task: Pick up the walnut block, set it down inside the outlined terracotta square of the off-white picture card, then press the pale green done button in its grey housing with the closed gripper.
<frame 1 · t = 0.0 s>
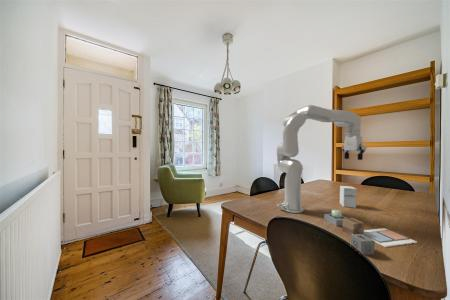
hand: (353, 159, 116), 31 cm above the table, fingers open, 9 cm apart
done button: (336, 214, 89), point 4 cm above the table, slide at 0.0 cm
walnut block: (352, 232, 78), on the table, touching picture card
dice cube: (362, 251, 65), on the table
picture card: (384, 237, 74), on the table
button housing: (336, 222, 89), on the table
supplement box: (347, 205, 115), on the table
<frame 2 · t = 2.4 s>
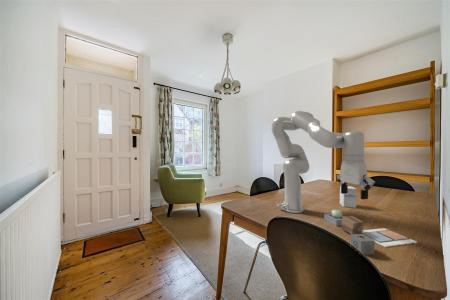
hand: (353, 196, 78), 17 cm above the table, fingers open, 9 cm apart
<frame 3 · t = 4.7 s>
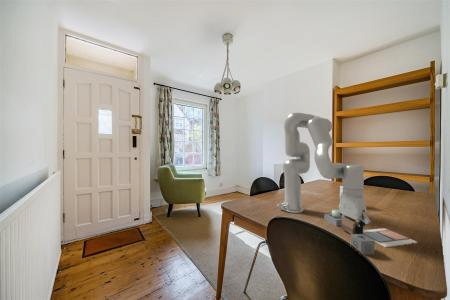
hand: (352, 230, 78), 1 cm above the table, fingers closed on walnut block, 5 cm apart
walnut block: (351, 230, 78), point 1 cm above the table, tilted 6°, touching gripper, picture card
everything else where it was.
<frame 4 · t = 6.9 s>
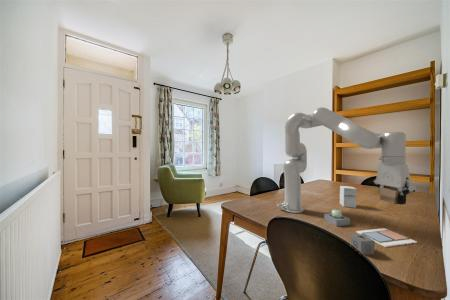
hand: (392, 201, 75), 15 cm above the table, fingers closed on walnut block, 5 cm apart
walnut block: (391, 201, 75), point 15 cm above the table, touching gripper
everything else where it was.
when the fingers open (3 cm above the table, at t = 9.6 s): walnut block drops 2 cm, resting on picture card.
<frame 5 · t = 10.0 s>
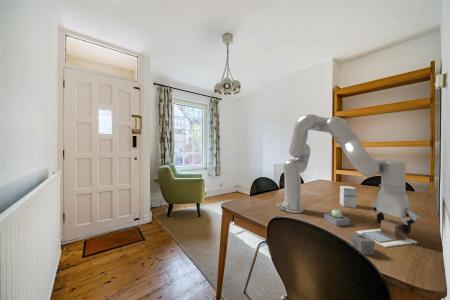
hand: (392, 227, 75), 4 cm above the table, fingers open, 9 cm apart
walnut block: (392, 235, 74), point 1 cm above the table, touching picture card
everything else where it was.
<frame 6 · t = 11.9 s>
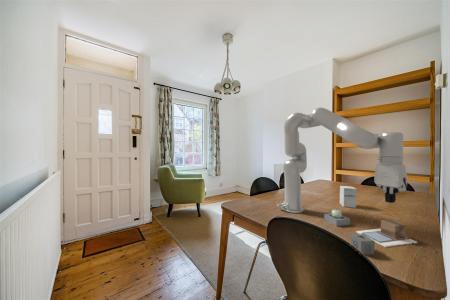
hand: (390, 202, 75), 15 cm above the table, fingers closed
nothing on the table moved.
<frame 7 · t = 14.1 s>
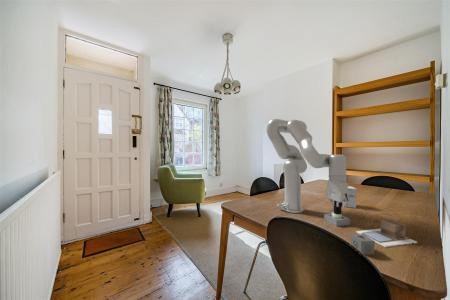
hand: (337, 213, 89), 5 cm above the table, fingers closed
done button: (336, 217, 89), point 3 cm above the table, slide at 1.4 cm
everything else where it was.
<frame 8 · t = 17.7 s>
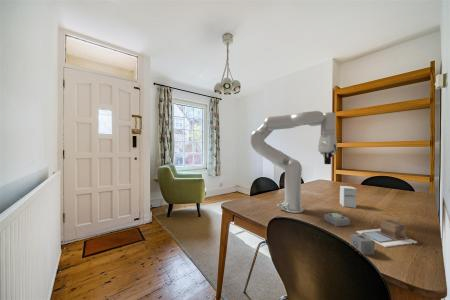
hand: (327, 164, 103), 29 cm above the table, fingers closed
done button: (336, 218, 89), point 2 cm above the table, slide at 1.9 cm
everything else where it was.
at the end: walnut block 0.4 cm from the target spot on the picture card, point 0.8 cm above the picture card's base; done button slide at 1.9 cm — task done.
